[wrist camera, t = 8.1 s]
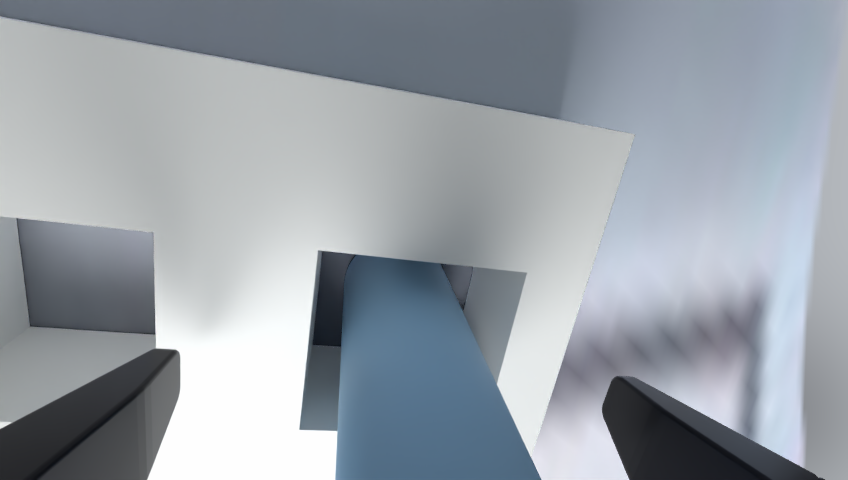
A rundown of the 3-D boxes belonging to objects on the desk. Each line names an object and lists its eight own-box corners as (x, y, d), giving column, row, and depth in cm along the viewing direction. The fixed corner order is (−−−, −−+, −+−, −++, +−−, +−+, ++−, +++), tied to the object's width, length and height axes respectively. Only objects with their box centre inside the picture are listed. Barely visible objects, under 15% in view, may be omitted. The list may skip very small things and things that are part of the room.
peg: (338, 324, 13) (304, 886, 4) (350, 231, 12) (342, 686, 3) (434, 331, 14) (594, 836, 5) (452, 243, 13) (700, 657, 4)
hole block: (-18, 420, 13) (-146, 538, 9) (-93, -1, 9) (-337, -44, 6) (476, 434, 16) (508, 527, 12) (559, 119, 12) (635, 134, 9)
